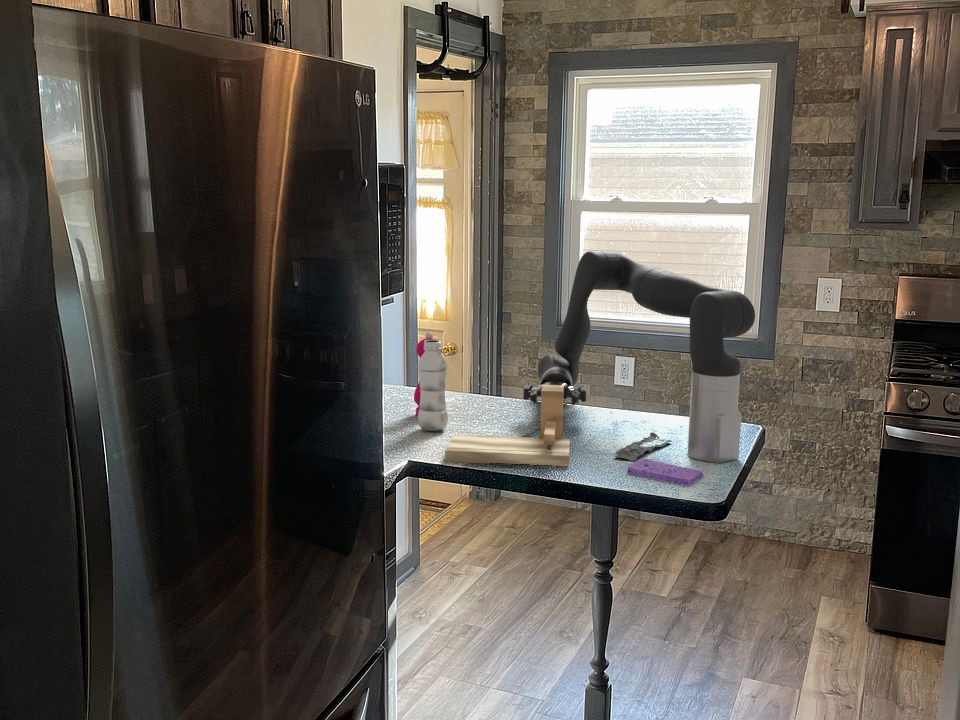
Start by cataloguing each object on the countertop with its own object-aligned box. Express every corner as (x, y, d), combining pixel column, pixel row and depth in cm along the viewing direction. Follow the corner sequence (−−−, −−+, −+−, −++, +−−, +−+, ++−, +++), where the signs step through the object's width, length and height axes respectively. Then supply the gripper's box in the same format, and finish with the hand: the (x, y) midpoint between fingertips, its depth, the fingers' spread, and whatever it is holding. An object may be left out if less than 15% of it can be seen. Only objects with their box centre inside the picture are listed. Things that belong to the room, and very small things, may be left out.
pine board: (454, 444, 182) (454, 434, 182) (569, 449, 179) (570, 439, 179) (445, 461, 170) (445, 450, 170) (568, 467, 168) (569, 455, 167)
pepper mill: (443, 419, 203) (443, 334, 199) (412, 419, 203) (412, 334, 199) (445, 412, 210) (445, 329, 206) (415, 411, 210) (415, 329, 206)
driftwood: (632, 466, 171) (632, 455, 170) (602, 459, 175) (602, 449, 174) (679, 445, 187) (679, 435, 186) (650, 439, 191) (651, 429, 190)
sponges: (641, 466, 170) (642, 457, 170) (703, 479, 163) (704, 469, 163) (625, 475, 164) (626, 466, 164) (689, 489, 157) (689, 479, 157)
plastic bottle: (441, 435, 189) (442, 344, 185) (413, 432, 191) (412, 342, 187) (452, 428, 195) (452, 339, 191) (424, 425, 197) (424, 338, 193)
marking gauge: (541, 439, 187) (542, 384, 185) (562, 440, 186) (563, 385, 184) (536, 464, 169) (538, 403, 167) (560, 465, 169) (561, 404, 167)
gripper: (526, 368, 209) (522, 382, 193) (586, 370, 207) (586, 384, 191) (526, 398, 210) (521, 414, 194) (585, 400, 209) (585, 417, 193)
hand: (554, 399), depth 193 cm, fingers open, 8 cm apart
